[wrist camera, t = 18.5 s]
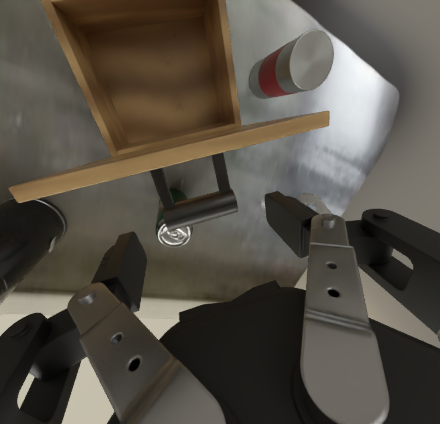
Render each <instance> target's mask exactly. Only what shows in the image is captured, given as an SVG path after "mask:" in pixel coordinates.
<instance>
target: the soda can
mask: <svg viewBox="0 0 440 424" xmlns="http://www.w3.org/2000/svg"><path fill="white" fill-rule="evenodd" d="M170 193H171V196H172V199H173V202H174V203H177V202H181V201H185V200H187V198H186V196H185V194H184V193H183V192H181V191H179V190H176V189H170ZM162 207H163V205H162V202H161V200H159V207H158V215H157V223H156V235H157V237H158V238H159V240H160V241H161V242H162V243H163V244H164V245H166V246H168V247H179V246H182V245H184V244H185V243H186V242H187V241H188V240H189V238H190V236H191V234H192V231H193V228H192V225H190V226H187V227H183V228H180V229H176V230H173V231H169V230H168V229H167V227H166V225H165V222H164V219H163V215H162Z"/></svg>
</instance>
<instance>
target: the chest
mask: <svg viewBox="0 0 440 424" xmlns="http://www.w3.org/2000/svg"><path fill="white" fill-rule="evenodd" d="M40 1H41V3H42V5H43V7H44V9H45V12H46V14H47V16H48V18H49V20H50V23H51V25H52V27H53V29H54V31H55V34H56V36H57V38H58V40H59V42H60V44H61V47H62V49H63V51H64V53H65V55H66V58H67V60H68V62H69V64H70V66H71V69H72V71H73V73H74V75H75V77H76V79H77V82H78V84H79V86H80V88H81V90H82V93H83V95H84V97H85V99H86V101H87V104H88V106H89V108H90V110H91V112H92V114H93V117H94V119H95V121H96V123H97V125H98V128H99V130H100V132H101V134H102V136H103V139H104V141H105V143H106V145H107V147H108V149H109V152H110V154H111V156H116V155H120V154H124V153H129V152H133V151H137V150H141V149H145V148H150V147H154V146H158V145H162V144H167V143H171V142H175V141H179V140H184V139H188V138H192V137H196V136H200V135H205V134H209V133H213V132H217V131H222V130H226V129H230V128H234V127H239V126H241V119H240V111H239V104H238V96H237V88H236V80H235V73H234V65H233V57H232V49H231V41H230V34H229V26H228V18H227V10H226V3H225V0H40Z"/></svg>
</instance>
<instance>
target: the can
mask: <svg viewBox="0 0 440 424" xmlns="http://www.w3.org/2000/svg"><path fill="white" fill-rule="evenodd" d="M333 58H334V51H333V45H332V42H331V40H330V38H329V36H328V35H327V34H326V33H325V32H323V31H321V30H316V29H315V30H310V31H307V32H306V33H304V34H302V35H301V36H299V37H298V38H296V39H294V40H293V41H291V42H289V43H287V44H286V45H284V46H283V47H281V48H279V49H278V50H276V51H275V52H273V53H271V54H270V55H268V56H267V57H265V58H264V59H262V60H261V61H259V62H258V63H256V64H255V66H254V67H253V69H252V70H251V73H250V78H249V83H250V88H251V91H252V92H253V94H254V95H255V96H256V97H258V98H261V99H267V98H272V97H278V96H283V95H289V94H294V93H298V92H303V91H308V90H312V89H315V88H317V87H318V86H320V85H321V84H322V83H323V82H324V81H325V79H326V78H327V76H328V75H329V73H330V70H331V67H332V64H333Z"/></svg>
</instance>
